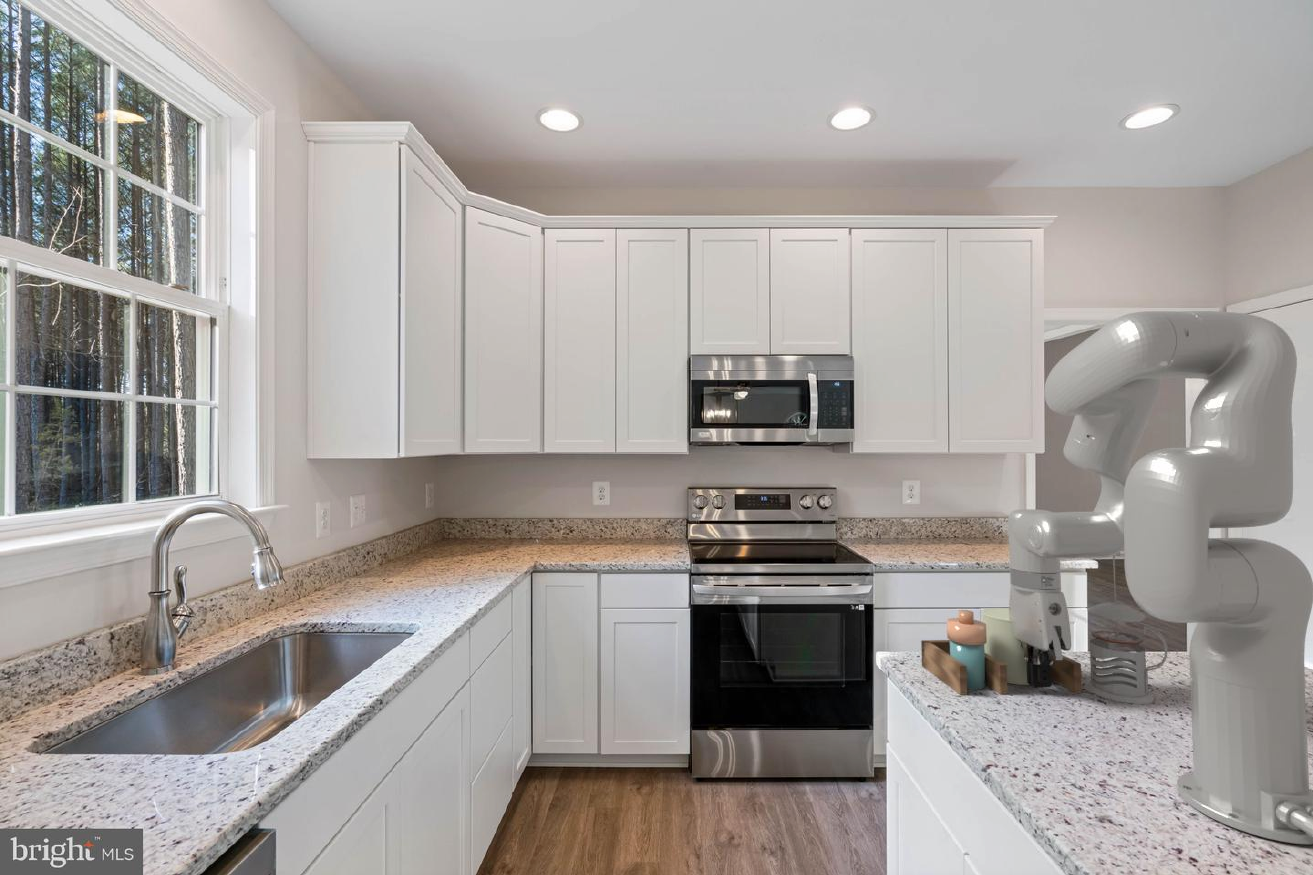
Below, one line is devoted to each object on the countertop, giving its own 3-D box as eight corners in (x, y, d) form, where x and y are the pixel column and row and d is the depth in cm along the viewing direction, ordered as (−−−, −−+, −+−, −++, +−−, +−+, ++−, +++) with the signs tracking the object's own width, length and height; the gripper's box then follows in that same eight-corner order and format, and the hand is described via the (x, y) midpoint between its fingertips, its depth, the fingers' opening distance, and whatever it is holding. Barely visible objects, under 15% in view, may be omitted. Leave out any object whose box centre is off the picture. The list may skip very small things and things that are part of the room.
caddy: (1081, 692, 101) (1080, 663, 101) (960, 694, 101) (959, 665, 101) (1028, 663, 115) (1027, 638, 115) (921, 665, 115) (921, 640, 115)
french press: (1088, 676, 109) (1084, 542, 109) (1171, 694, 100) (1166, 549, 101) (1078, 692, 102) (1074, 548, 102) (1166, 712, 93) (1161, 556, 94)
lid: (994, 644, 103) (993, 616, 103) (958, 645, 103) (957, 616, 103) (974, 633, 109) (973, 607, 109) (940, 633, 109) (940, 607, 109)
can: (1045, 675, 109) (1043, 610, 110) (1034, 689, 103) (1032, 621, 103) (990, 663, 116) (989, 602, 116) (977, 676, 109) (975, 612, 110)
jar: (992, 689, 103) (990, 643, 103) (961, 689, 103) (960, 644, 103) (974, 677, 109) (973, 634, 109) (944, 677, 109) (943, 634, 109)
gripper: (1088, 588, 95) (1093, 702, 94) (1027, 571, 110) (1031, 669, 109) (1043, 589, 95) (1047, 703, 94) (988, 572, 110) (992, 670, 109)
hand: (1039, 685), depth 102 cm, fingers closed
